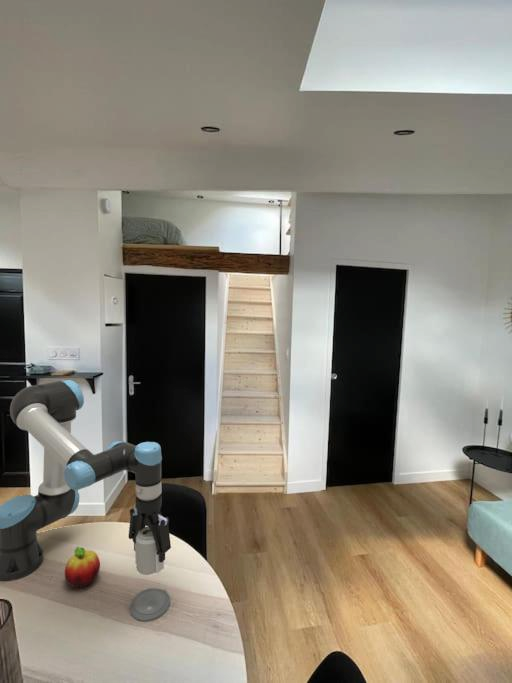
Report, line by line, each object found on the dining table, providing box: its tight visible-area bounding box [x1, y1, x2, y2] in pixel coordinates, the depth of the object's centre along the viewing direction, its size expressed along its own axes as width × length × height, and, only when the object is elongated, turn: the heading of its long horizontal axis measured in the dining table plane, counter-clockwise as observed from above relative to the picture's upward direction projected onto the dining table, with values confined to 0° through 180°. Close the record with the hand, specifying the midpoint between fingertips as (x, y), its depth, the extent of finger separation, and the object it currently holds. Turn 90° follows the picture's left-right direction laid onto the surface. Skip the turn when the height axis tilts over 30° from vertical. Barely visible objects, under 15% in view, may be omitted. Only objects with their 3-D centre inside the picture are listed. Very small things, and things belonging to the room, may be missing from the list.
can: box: [135, 525, 157, 576], centre depth 115 cm, size 8×8×12 cm
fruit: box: [64, 546, 101, 588], centre depth 126 cm, size 11×11×10 cm
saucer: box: [129, 587, 171, 622], centre depth 117 cm, size 12×12×1 cm
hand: (149, 565), depth 115 cm, fingers closed on can, 7 cm apart
